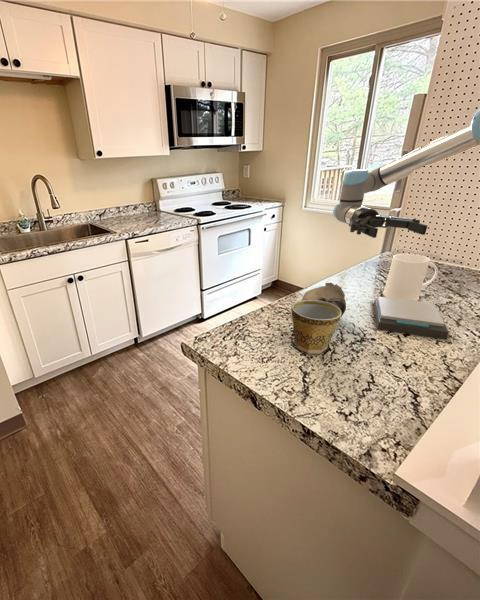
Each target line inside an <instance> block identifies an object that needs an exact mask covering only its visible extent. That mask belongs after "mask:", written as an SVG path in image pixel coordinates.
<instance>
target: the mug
mask: <svg viewBox="0 0 480 600" xmlns="http://www.w3.org/2000/svg"><path fill="white" fill-rule="evenodd" d="M429 266H431V267H432V268H433V269H434V274H433V276H432V277H431V279H429V280H428V281H427V282H424V281H425V278H426V274H427V272H428V268H429ZM438 273H439V269H438V267H437V265H436V264H435V263H434V262H432V261H431V258H429V257H428V256H425V255H422V254H417V253H397V254H394V255H393V257H392V260H391V264H390V268H389V271H388V275H387V279H386V283H385V286H384V290H383V291H382V295H383V297H388V298H397V299H406V300H415V301H420V295H421V294H420V293H421V291H422V288H424V287H428V286H429V285H430V284H431V283H433V282H434V281H435V280H436V279H437V277H438Z"/></svg>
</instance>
